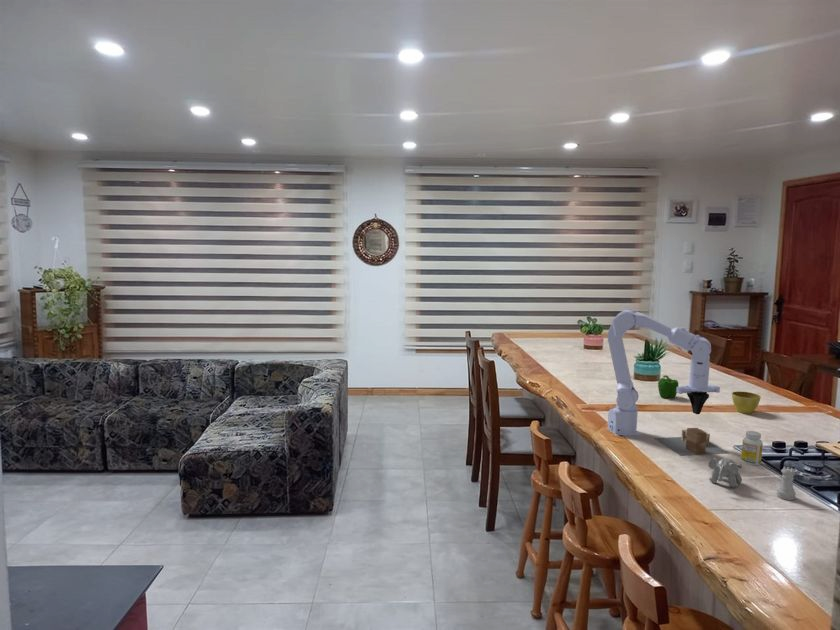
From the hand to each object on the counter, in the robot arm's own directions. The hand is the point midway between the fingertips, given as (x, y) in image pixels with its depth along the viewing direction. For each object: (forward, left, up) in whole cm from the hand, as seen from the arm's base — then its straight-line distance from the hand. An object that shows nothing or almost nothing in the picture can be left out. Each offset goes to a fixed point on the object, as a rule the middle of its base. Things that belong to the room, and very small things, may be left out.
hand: (696, 413), depth 189 cm
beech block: (-3, 0, -8) cm, 9 cm away
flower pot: (+42, +30, -11) cm, 53 cm away
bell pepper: (+23, +54, -11) cm, 60 cm away
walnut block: (-5, -8, -10) cm, 14 cm away
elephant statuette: (-12, -32, -11) cm, 36 cm away
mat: (-4, -3, -10) cm, 11 cm away
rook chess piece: (-1, -41, -11) cm, 42 cm away
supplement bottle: (+7, -18, -11) cm, 22 cm away
